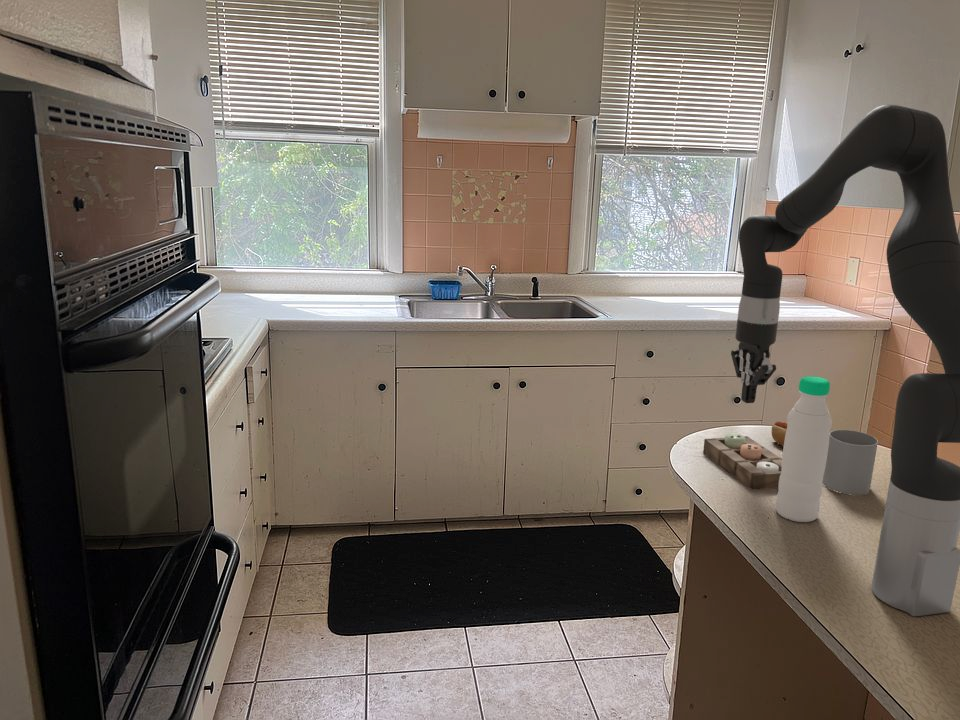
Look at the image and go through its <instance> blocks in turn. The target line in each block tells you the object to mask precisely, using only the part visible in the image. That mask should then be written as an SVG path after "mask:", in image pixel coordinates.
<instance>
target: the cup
mask: <svg viewBox="0 0 960 720" xmlns="http://www.w3.org/2000/svg"><path fill="white" fill-rule="evenodd" d="M878 443H879V439H877V438H876V437H875V436H873V435H871V434H868V433H865V432H861V431H858V430H852V429H834V430H832V431H829V446H828V454H827V460H826V466H825V471H824V475H823V479H822V483H823V484H824V485H825V486H826V487H828V488H830V489H832V490H835V491H838V492H841V493H840V494H842V493H845V494H844V495H846V494H851V495H850V496H854V495H857V496H865V495H867V493H868V494H870V491H871V484H872V479H873V472H874V467H875V461H876V457H877V449H878ZM824 485H823V486H824ZM825 486H824V487H825ZM826 487H825V488H826ZM828 488H827V489H828ZM830 489H829V490H830ZM832 490H831V491H832ZM835 491H834V492H835ZM838 492H837V493H838Z"/></svg>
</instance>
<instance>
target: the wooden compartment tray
mask: <svg viewBox="0 0 960 720" xmlns="http://www.w3.org/2000/svg"><path fill="white" fill-rule="evenodd" d="M743 436H744V435H743ZM744 437H745V438H746V439H745V444H754V445H757V446H760V447H761V448H762V453H761V459H754V460H745V459H744V458H743V457H741V456H740V450H741V448H735V449H730V448H728V447H727V446H726V445H724V444H725V437H717V438H715V437H714V438H704V441H703V442H704V443H703V453H704V454H705V455H706V456H707V457H709V458H710V459H712V460H713V461H714V462H715V463H717V464H718V465H719V466H721V467H722V468H723V469H724V470H726V471H727V472H729V473H730V475H732V476H734V477H735V478H736V479H738V480H739V481H740V482H742V483H743V484H744V485H745V486H747V487H748V488H750V489H751V490H752V491H757V490H768V489H779V487H778V486H779V478H780V475H781V469H782V457H780V456H778V455H777V454H775V453H774V452H772V451H771V450H769V449H768V448H766V447H764V446H763V445H762V444H760V443H758V442H757V441H756V440H754V439H752V438H751V437H749V436H747V435H746V436H744ZM758 462H771V463H774V464H776V465H778V466H779V470H778V471H774V472H762V471H761V470H760V469H758V468H757V463H758Z"/></svg>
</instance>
